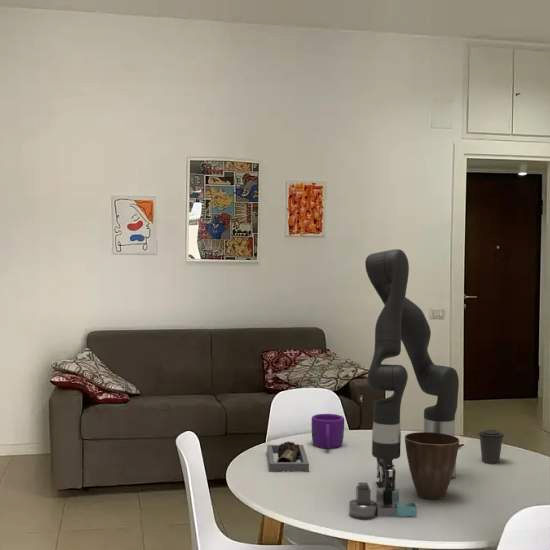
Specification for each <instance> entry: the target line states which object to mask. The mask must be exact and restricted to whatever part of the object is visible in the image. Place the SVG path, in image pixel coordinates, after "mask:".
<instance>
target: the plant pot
mask: <svg viewBox="0 0 550 550" xmlns="http://www.w3.org/2000/svg"><path fill="white" fill-rule="evenodd" d="M404 443H405V444H404V445H405V453H406V459H407V463H408V467H409V472H410V475H411V480H412V483H413V486H414V490H415V491H416V494H417V496H418V497H420V498H423V499H427V500H440V499H443V498H444V497H445V496H446V494H447V490H448V488H449V485H450V483H451V480H452V478H451V477H452V474H453V470H454V467H455V462H456V463H457V457H458V452H459V447H460V439H459V437H456V435H455V436H452V435H448V434H442V433H433V432H424V431H422V432H421V431H418V432H417V431H416V432H410V433H407V434H405V435H404Z"/></svg>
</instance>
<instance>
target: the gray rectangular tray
mask: <svg viewBox="0 0 550 550" xmlns="http://www.w3.org/2000/svg"><path fill="white" fill-rule="evenodd" d="M280 445H281V444H267V445H266V453H267V454H268V455H267V454H266V455H267V461H268V462H269V463H268V462H267V463H268V469H269V470H270V471H269V472H270V473H271V472H272V473H277V472H278V473H280V472H281V473H283V472H282V471H285V472H286V473H288V472H287V471H309V472H310V463H309V459H308V456H307V453H306V450H305V447H304V444H298V445H299V448H300V456H299V459H300V462H297V461H296V462H295V461H294V462H277V461H276V462H275V457H274V456H275V455H274V454H278V450H279V446H280ZM285 472H284V473H285Z"/></svg>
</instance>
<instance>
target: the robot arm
mask: <svg viewBox="0 0 550 550" xmlns="http://www.w3.org/2000/svg"><path fill="white" fill-rule="evenodd" d="M364 262H365V263H364V264H365V270H366V275H367V276H368V280H369V282H370V283H371V284H372V287H373V288H374V290H375V291H376V293H377V295H378V296H379V298H380V300H381V302H382V303H383V304H384V307H383V308H382V309H381V312H380V314H379V316H378V317H377V320H376V322H375V328H374V329H375V330H374V352H373V357H372V361H371V364H370V367H369V368H368V372H367V379H366V381H367V384H368V386H369V388H370V389H371V390H373V391H379V392H381V391H383V392H393V393H392V395H391V396H389V397H385V398H379V399H377V400H375V402H374V403H373V423H372V430H371V432H372V433H371V438H372V440H371V455H372V457H373V458H375V459H376V478H377V481H381V482H382V483H383V491H384V492H383V504H384V505H392V492H393V491H395V483H396V472H397V471H396V469H395V464H393V460H397V459H399V458H400V457H401V442H402V441H401V435H402V434H401V433H402V432H401V408H402V407H401V405H402V400H403V395H404V392H405V389H406V385H407V383H408V379H409V376H408V375H409V374H408V370H407V368H405V366H403V365H401V364H387V363H385V364H382V362H383V361H384V360H386V359H390V358H395V357H398V356H399V355H400V354H401V351H402V345H403V346H404V348H405V349H404V350H405V351H406V353H407V355H408V359H409V361H410V363H411V366H412V369H413V372H414V374H415V377H416V381H417V383H418V386H419V388H420V389H421V391H422V392H424V393H425V394H427V395H430V396H435V397H437V399H436V404H434V405H432V406H427V407H425V408H424V410H423V432H433V433H442V434H448V435H452V436H455V437H456V435H455V431H456V429H455V428H456V413H457V409H458V403H459V402H458V401H459V388H460V387H459V385H460V381H459V380H460V378H459V374H458V371H457V370H456V369H455V368H454V367H451V366H444V365H438V364H435V363H434V362H433V361H432V358H431V356H430V354H429V351H428V349H429V345H430V341H431V335H432V332H431V327H430V325H429V322H428V320H427V318H426V315H425V313H424V312H423V310H422V309H421V308H420V306H418V305H417V304H416V303H415V302H413V301H412V300H410V299H409V298H408V297H406V295H407V294H406V293H407V287H408V282H409V280H408V279H409V273H410V265H409V259H408V257H407V255H406V253H405V252H404V251H403V249H398V248H396V249H394V248H393V249H390V250H384V251H379V252H378V251H377V252H374V253H371V254H369V255H367V256H366V259H365V261H364ZM452 478H453V479H454V478H457V461H456V462H455V467H454V470H453V474H452V477H451V479H452ZM388 483H390V486H387V484H388Z"/></svg>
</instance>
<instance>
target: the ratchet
mask: <svg viewBox="0 0 550 550" xmlns="http://www.w3.org/2000/svg"><path fill="white" fill-rule="evenodd" d="M355 492H356V493H355V499H352V500H350V501H349V503H348V508H349V509H348V511H349V512H348V515H349V517H350V518H353V519H357V520H363V521H367V520H373V518H374V519H375V517H376V518H377V516H418V515H417V514H418V507H417V505H416V503H415V502H399V503H395V505H377V503H376V502H374V501H373V500H372V499H371V492H372V489H371V488H370V485H369V483H368V482H358V483H357V485H356V486H355Z"/></svg>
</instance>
